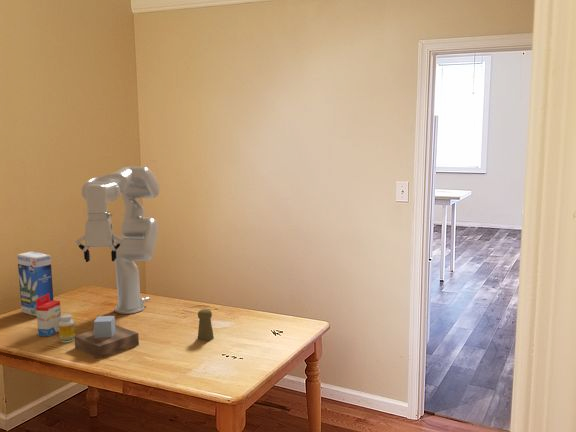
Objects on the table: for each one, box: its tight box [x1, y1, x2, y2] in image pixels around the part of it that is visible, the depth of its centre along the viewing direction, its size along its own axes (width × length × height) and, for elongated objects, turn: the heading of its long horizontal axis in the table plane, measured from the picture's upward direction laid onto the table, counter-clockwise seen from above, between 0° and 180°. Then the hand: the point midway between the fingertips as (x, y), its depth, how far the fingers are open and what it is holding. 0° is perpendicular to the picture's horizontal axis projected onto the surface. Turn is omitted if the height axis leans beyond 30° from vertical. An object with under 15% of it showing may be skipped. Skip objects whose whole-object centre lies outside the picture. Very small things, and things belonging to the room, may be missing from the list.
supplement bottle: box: [58, 313, 76, 344], centre depth 213 cm, size 5×5×10 cm
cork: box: [197, 308, 215, 342], centre depth 214 cm, size 6×6×11 cm
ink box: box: [36, 293, 62, 337], centre depth 221 cm, size 8×5×15 cm, turn 168°
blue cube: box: [93, 315, 116, 338], centre depth 206 cm, size 6×6×6 cm
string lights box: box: [16, 251, 54, 317], centre depth 245 cm, size 13×8×26 cm, turn 58°
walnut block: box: [74, 324, 140, 360], centre depth 207 cm, size 16×16×5 cm
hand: (100, 260), depth 218 cm, fingers open, 9 cm apart
